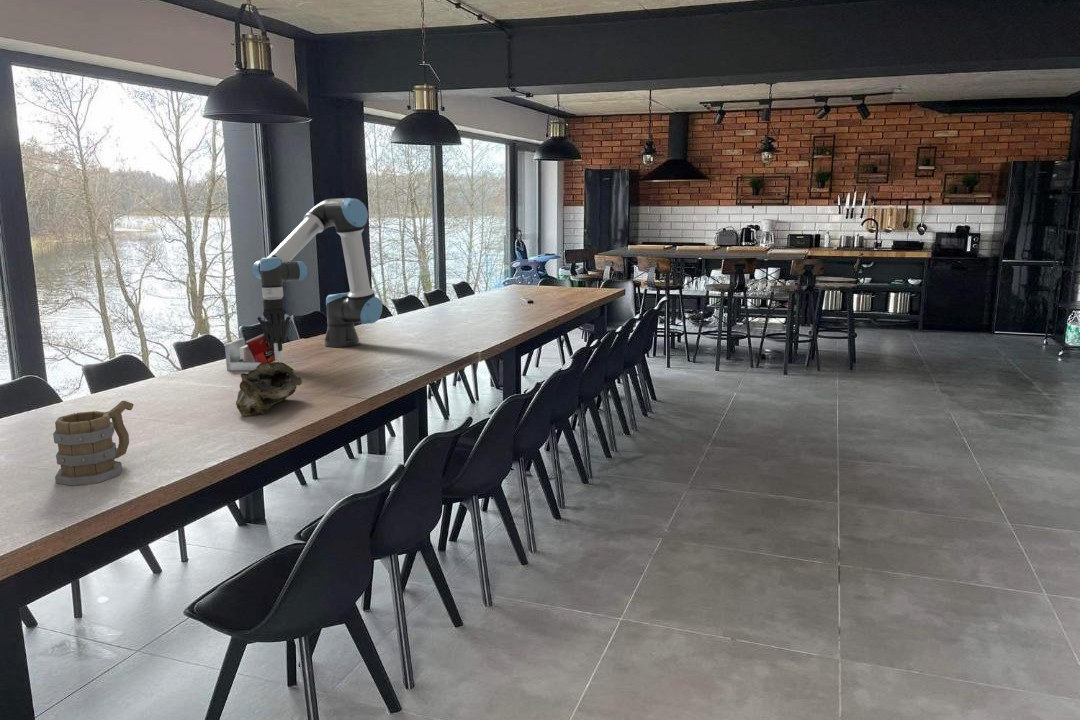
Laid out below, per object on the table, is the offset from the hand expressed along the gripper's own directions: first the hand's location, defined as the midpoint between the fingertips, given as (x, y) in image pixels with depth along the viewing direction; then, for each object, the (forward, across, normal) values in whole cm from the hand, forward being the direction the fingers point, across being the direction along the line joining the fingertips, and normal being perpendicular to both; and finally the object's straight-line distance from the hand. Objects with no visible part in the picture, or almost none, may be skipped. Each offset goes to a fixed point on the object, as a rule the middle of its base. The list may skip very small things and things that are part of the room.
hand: (278, 359), depth 295 cm
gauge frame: (+3, -10, +1) cm, 11 cm away
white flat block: (+3, -12, 0) cm, 12 cm away
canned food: (+2, -4, +1) cm, 5 cm away
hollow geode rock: (+5, +20, -59) cm, 63 cm away
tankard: (+6, +4, -119) cm, 119 cm away
